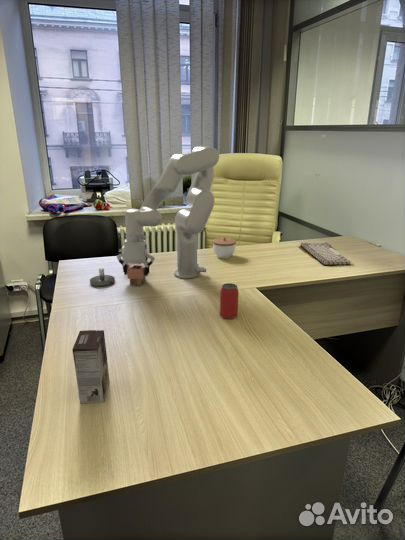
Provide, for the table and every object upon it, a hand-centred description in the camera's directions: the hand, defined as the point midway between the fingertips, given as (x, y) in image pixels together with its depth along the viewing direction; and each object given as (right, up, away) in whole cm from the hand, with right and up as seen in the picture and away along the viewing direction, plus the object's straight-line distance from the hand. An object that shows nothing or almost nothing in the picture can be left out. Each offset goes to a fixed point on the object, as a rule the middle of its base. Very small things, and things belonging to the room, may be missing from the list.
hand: (136, 274), depth 168 cm
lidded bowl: (+42, +9, +38) cm, 57 cm away
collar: (0, -1, +1) cm, 1 cm away
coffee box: (+2, -31, -70) cm, 77 cm away
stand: (0, -4, +2) cm, 4 cm away
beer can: (+40, -15, -29) cm, 52 cm away
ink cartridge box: (-5, +2, +19) cm, 20 cm away
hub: (-16, -4, +1) cm, 16 cm away
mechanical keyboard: (+99, +10, +41) cm, 108 cm away
